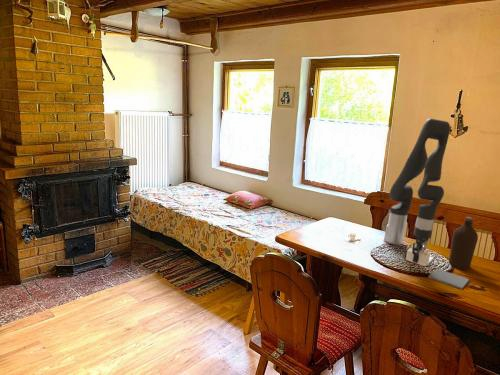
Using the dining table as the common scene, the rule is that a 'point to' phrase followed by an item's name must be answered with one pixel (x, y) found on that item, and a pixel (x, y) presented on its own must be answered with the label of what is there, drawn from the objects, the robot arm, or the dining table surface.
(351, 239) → the teacup and saucer
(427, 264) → the external hard drive
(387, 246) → the dining table surface
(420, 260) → the block
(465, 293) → the dining table surface
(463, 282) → the mat
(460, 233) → the olive oil
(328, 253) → the dining table surface
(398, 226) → the robot arm
